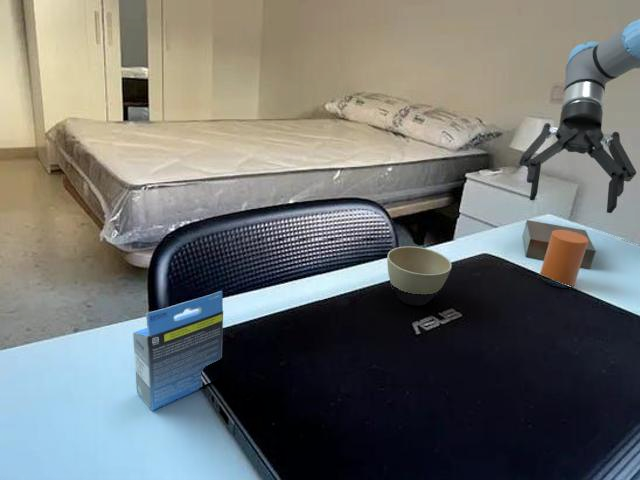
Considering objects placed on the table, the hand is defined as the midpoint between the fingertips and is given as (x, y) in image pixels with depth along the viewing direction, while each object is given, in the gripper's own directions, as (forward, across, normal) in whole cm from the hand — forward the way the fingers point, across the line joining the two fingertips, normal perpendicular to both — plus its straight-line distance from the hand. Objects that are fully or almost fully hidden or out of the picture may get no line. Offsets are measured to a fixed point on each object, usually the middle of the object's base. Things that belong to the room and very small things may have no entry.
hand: (571, 203), depth 93 cm
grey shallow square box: (+4, -1, -14) cm, 15 cm away
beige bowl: (+28, +24, +9) cm, 38 cm away
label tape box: (+51, +46, +32) cm, 76 cm away
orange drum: (+14, 0, -4) cm, 15 cm away
